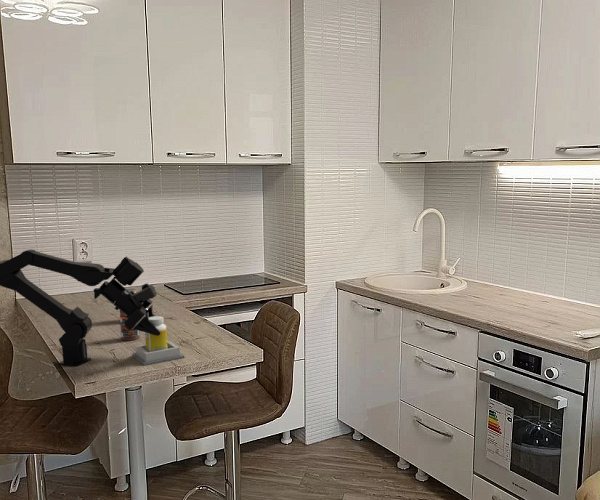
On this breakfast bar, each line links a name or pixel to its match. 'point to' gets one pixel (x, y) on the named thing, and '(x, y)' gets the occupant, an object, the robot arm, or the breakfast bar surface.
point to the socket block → (157, 354)
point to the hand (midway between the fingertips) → (160, 331)
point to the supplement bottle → (126, 333)
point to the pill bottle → (157, 341)
